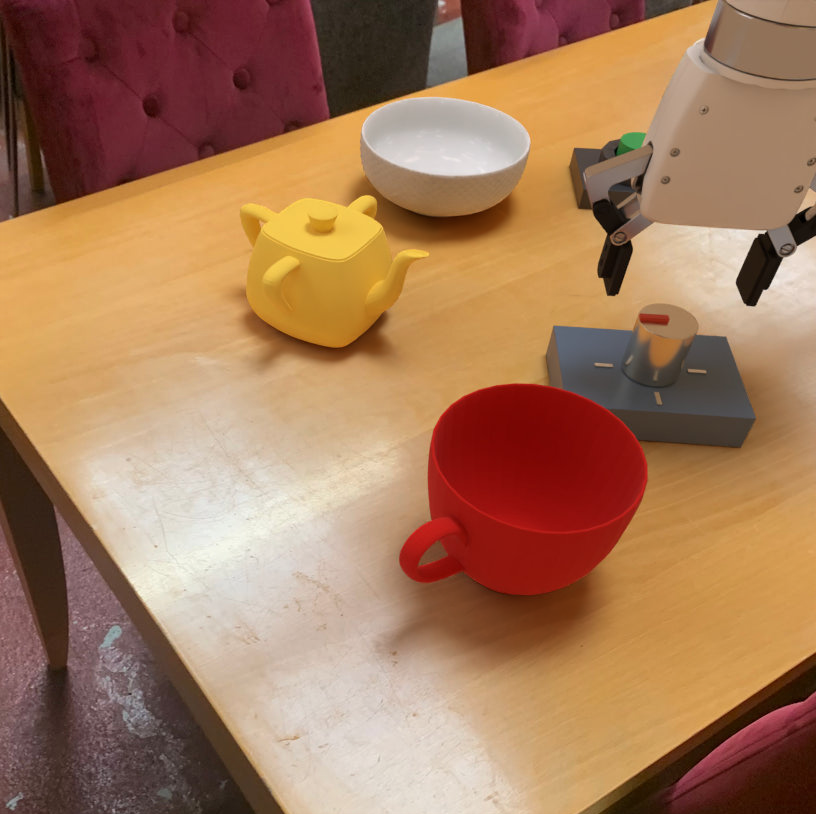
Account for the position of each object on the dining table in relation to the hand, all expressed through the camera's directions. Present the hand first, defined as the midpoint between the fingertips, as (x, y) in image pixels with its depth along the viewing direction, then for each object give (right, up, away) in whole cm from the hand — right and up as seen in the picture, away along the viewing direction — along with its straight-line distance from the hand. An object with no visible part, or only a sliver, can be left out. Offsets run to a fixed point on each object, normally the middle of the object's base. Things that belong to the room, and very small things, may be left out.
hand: (676, 290), depth 64 cm
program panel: (0, -7, +8) cm, 10 cm away
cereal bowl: (-13, +17, +29) cm, 36 cm away
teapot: (-25, +1, +15) cm, 29 cm away
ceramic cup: (-14, -20, -4) cm, 25 cm away
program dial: (0, -5, +6) cm, 7 cm away
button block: (+7, +18, +30) cm, 36 cm away
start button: (+7, +21, +27) cm, 35 cm away
